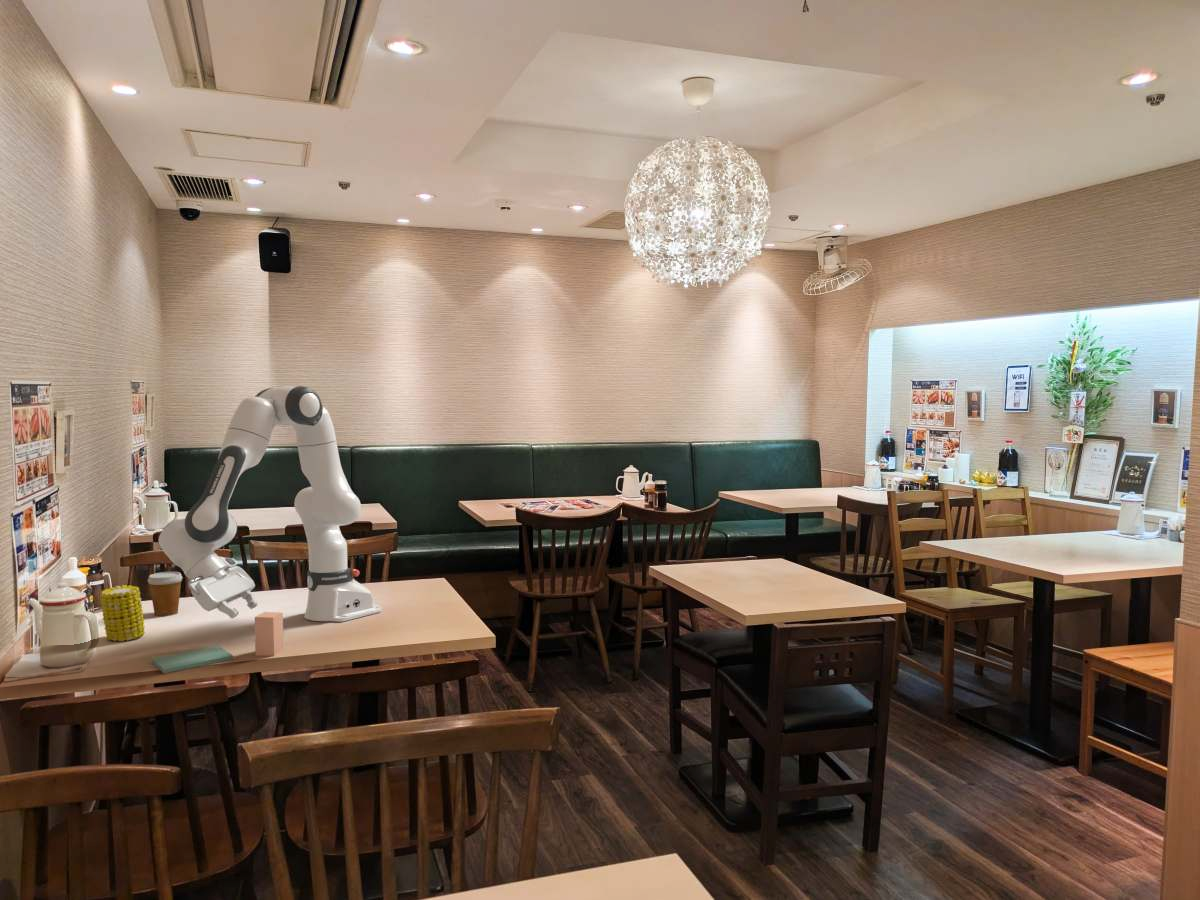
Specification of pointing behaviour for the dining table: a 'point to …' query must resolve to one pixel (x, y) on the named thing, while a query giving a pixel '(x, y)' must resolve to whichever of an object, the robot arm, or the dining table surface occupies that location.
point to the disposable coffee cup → (165, 592)
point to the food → (122, 613)
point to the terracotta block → (269, 633)
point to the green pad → (191, 659)
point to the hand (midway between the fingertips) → (245, 611)
